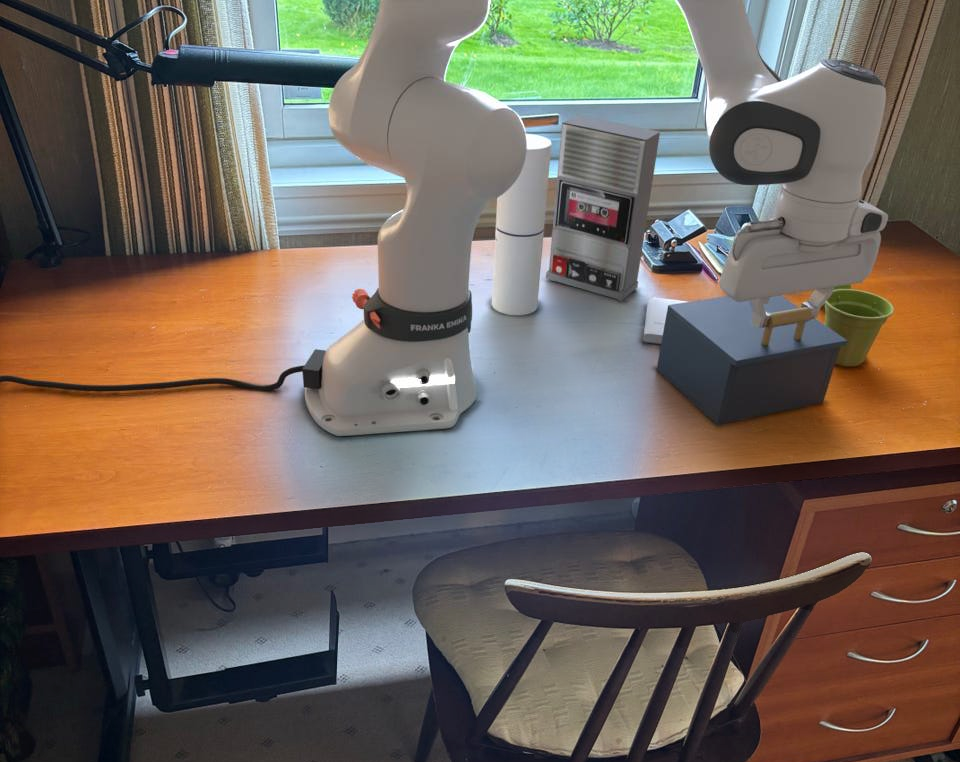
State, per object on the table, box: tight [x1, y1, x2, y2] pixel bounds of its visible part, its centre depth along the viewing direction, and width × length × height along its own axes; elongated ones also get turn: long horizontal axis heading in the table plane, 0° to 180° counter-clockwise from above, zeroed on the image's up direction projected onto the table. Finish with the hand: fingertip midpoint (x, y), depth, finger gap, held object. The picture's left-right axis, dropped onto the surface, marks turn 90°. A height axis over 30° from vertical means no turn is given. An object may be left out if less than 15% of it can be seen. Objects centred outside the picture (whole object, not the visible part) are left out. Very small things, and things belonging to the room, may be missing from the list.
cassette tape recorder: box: [545, 114, 661, 302], centre depth 142 cm, size 14×6×25 cm, turn 58°
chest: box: [656, 311, 840, 425], centre depth 123 cm, size 15×17×9 cm
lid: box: [667, 295, 847, 366], centre depth 118 cm, size 16×17×5 cm
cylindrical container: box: [491, 133, 552, 316], centre depth 135 cm, size 7×7×25 cm
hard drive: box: [642, 296, 689, 345], centre depth 138 cm, size 2×8×12 cm
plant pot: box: [823, 288, 895, 367], centre depth 130 cm, size 9×9×9 cm
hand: (783, 321), depth 114 cm, fingers closed on lid, 6 cm apart
